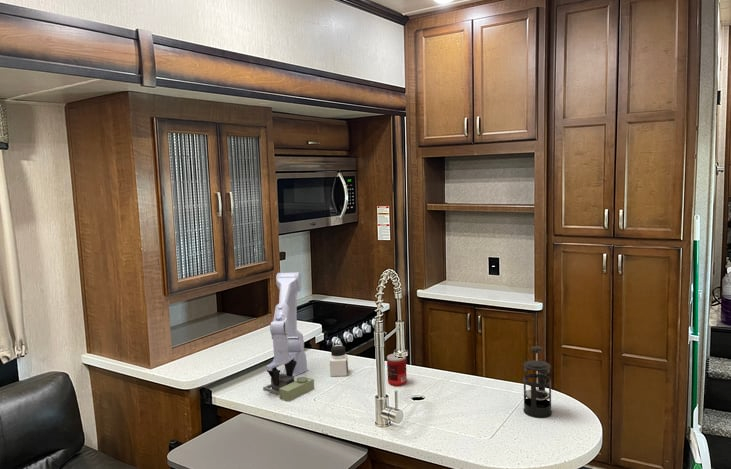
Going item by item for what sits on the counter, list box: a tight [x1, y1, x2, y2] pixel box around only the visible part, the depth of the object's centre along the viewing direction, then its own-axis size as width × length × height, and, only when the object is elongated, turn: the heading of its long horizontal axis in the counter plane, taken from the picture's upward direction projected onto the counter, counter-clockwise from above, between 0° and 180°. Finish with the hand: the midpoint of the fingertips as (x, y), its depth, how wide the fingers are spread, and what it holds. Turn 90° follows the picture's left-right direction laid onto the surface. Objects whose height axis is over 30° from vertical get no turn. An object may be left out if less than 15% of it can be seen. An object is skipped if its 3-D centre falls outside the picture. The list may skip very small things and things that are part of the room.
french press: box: [522, 345, 553, 419], centre depth 180 cm, size 12×9×23 cm
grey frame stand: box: [262, 376, 315, 402], centre depth 209 cm, size 14×17×5 cm
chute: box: [270, 373, 295, 391], centre depth 211 cm, size 8×5×5 cm, turn 55°
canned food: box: [386, 353, 408, 387], centre depth 212 cm, size 8×8×11 cm
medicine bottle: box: [329, 344, 349, 378], centre depth 225 cm, size 7×7×12 cm
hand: (283, 382), depth 211 cm, fingers open, 7 cm apart
